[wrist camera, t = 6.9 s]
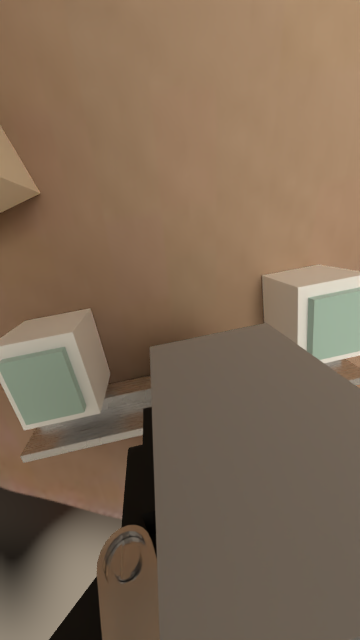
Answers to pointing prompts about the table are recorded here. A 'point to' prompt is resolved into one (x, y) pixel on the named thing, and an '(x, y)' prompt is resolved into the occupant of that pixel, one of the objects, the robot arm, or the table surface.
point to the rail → (118, 418)
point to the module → (255, 490)
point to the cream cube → (13, 176)
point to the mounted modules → (91, 365)
